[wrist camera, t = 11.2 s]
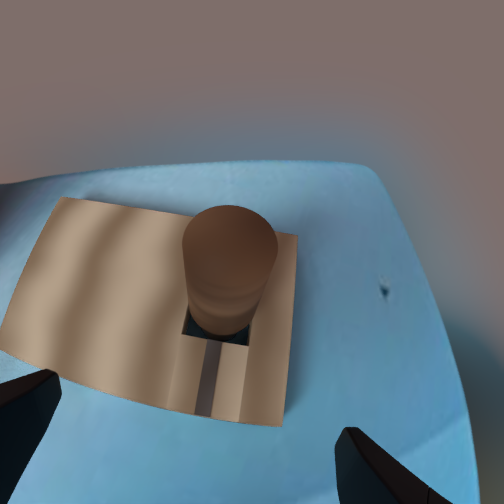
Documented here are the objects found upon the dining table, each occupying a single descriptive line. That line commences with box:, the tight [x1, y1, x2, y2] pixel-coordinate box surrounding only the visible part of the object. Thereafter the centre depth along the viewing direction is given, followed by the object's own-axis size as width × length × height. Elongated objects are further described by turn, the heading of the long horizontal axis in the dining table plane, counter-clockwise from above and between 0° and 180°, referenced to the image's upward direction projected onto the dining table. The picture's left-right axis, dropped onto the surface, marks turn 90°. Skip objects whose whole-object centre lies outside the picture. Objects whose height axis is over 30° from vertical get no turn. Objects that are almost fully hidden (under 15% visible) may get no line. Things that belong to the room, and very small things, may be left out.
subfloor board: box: [0, 197, 298, 427], centre depth 22 cm, size 22×15×3 cm
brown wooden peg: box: [182, 205, 278, 342], centre depth 19 cm, size 4×4×11 cm
